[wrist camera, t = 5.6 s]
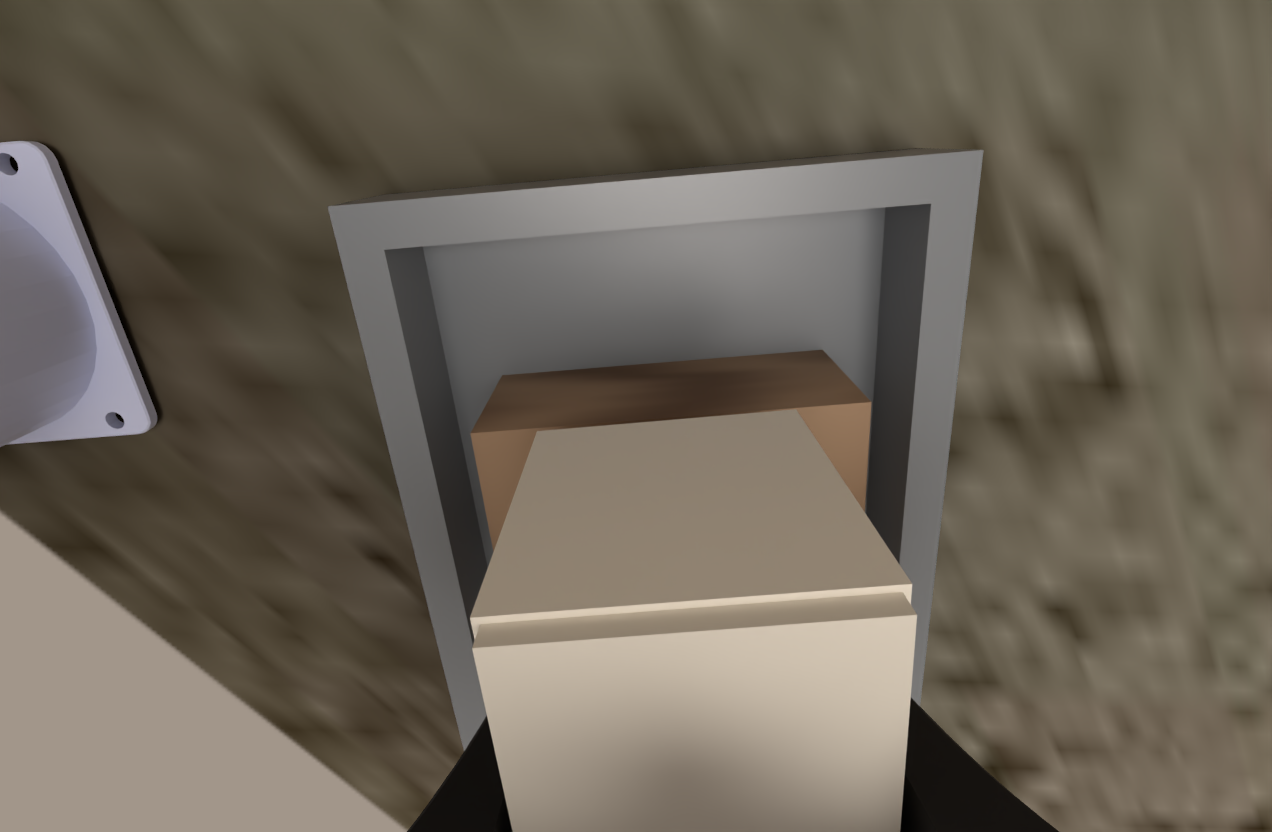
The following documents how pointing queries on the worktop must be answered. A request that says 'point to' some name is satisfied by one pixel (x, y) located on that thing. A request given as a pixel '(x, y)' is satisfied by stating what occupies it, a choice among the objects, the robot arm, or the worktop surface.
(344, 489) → the worktop surface
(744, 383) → the walnut block
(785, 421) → the cream lidded carton
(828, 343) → the tote
